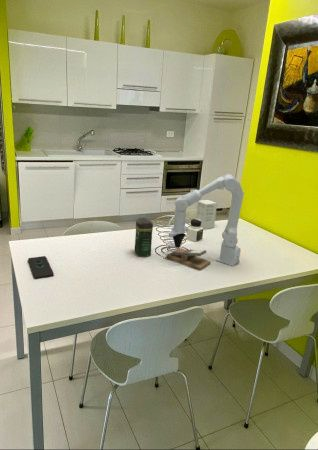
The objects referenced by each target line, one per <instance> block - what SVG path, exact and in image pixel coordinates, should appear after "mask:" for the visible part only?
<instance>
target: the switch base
mask: <svg viewBox="0 0 318 450" xmlns="http://www.w3.org/2000/svg"><path fill="white" fill-rule="evenodd" d="M171 253H172V252H170V253H168V254H166V256H165V258H166V259H168V260H170V261H173V262H175V263H178V264H180V265H184V266H186V267H189V268H191V269H194V270H197V271H202V270H204V269H205V268H207V267H208V266H210V265H211V261H210V260H208V259H205V258H203V257H200V256H187V255H184V254H181V255H171Z"/></svg>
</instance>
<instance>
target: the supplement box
mask: <svg viewBox="0 0 318 450" xmlns="http://www.w3.org/2000/svg"><path fill="white" fill-rule="evenodd" d="M217 205H218V202H215V201H212V200H209V199H204V200H203V199H201V200H199V201H198V202H196V212H195V213H196V214H195V219H199V220H201V227H202V228H203V230H208V229H214V228H215V223H216V215H217V207H218V206H217Z"/></svg>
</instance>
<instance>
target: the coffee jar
mask: <svg viewBox="0 0 318 450" xmlns="http://www.w3.org/2000/svg"><path fill="white" fill-rule="evenodd" d="M153 229H154V223H153V222H152V220H150V219H148V218H147V217H138V218H137V219H136V221H135V236H134V237H135V238H134V239H135V240H134V253H135V254H136V255H137V256H138V257H142V258H143V257H144V258H145V257H149V256H151V254H152V242H153V240H152V239H153Z"/></svg>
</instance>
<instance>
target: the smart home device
mask: <svg viewBox="0 0 318 450" xmlns="http://www.w3.org/2000/svg"><path fill="white" fill-rule="evenodd" d="M27 261H28V265H29V267H30V269H31V273H32V276H33V278H34V280H40V279H48V278H52V277H54V276H55V275H54V270H53V269H52V267H51V265H50V263H49V260H48V258H47V257H46V256H45V255H43V256H34V257H33V256H32V257H28V258H27Z"/></svg>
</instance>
